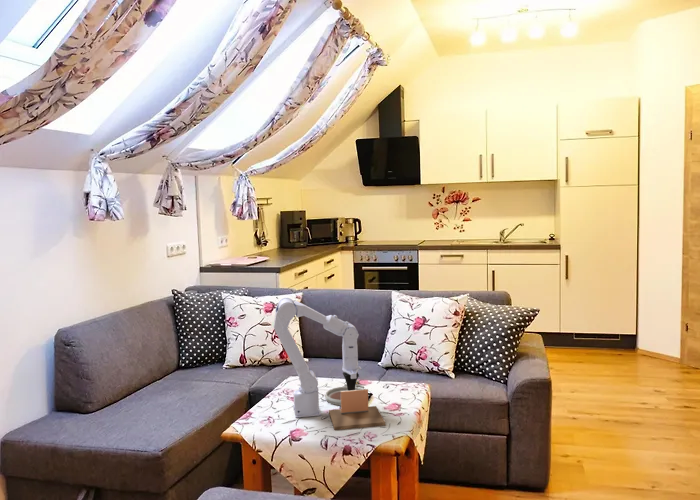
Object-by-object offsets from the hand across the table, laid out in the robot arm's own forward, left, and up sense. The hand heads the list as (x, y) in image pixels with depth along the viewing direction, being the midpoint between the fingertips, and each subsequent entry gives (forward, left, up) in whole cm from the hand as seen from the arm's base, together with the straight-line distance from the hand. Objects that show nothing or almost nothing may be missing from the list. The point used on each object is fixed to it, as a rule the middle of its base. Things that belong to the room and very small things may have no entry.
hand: (351, 391), depth 230 cm
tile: (0, -7, -1) cm, 7 cm away
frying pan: (+2, +17, -8) cm, 19 cm away
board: (0, -10, -7) cm, 12 cm away
